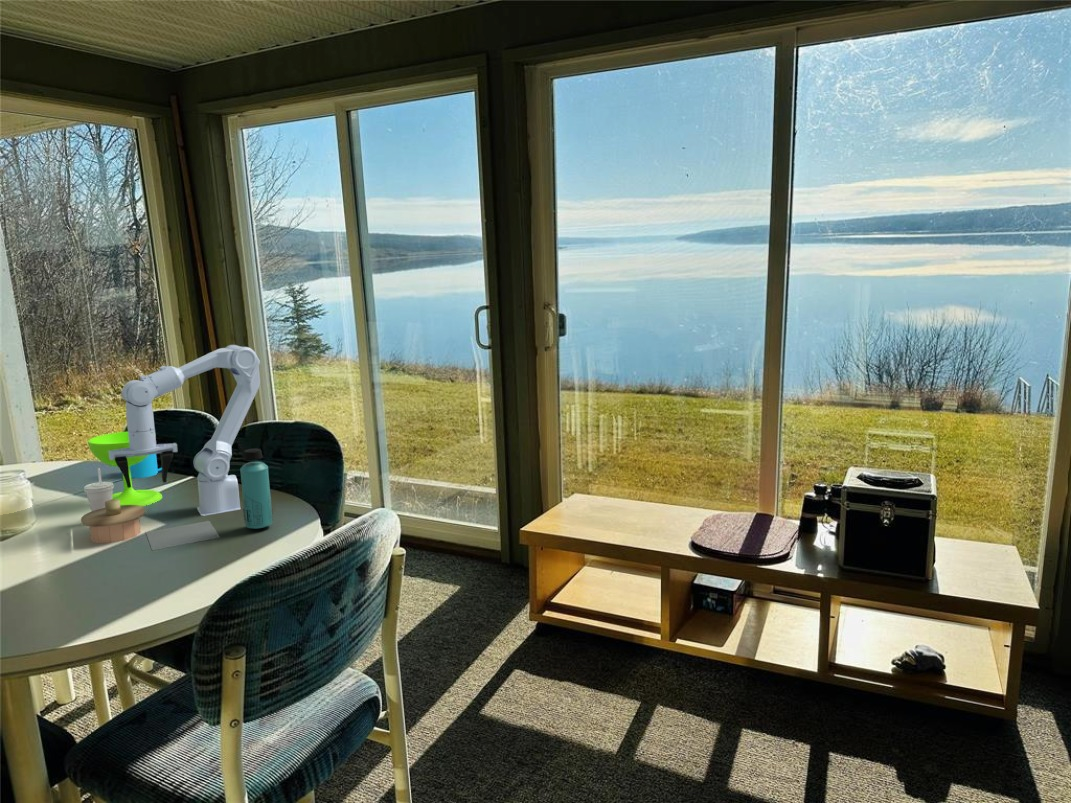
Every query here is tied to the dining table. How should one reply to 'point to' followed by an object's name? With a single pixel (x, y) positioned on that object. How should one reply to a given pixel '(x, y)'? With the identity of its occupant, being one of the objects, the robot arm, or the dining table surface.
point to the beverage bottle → (256, 491)
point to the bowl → (115, 532)
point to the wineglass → (101, 451)
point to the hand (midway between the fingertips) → (146, 484)
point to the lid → (113, 514)
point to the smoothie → (99, 493)
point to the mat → (181, 535)
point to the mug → (145, 467)
